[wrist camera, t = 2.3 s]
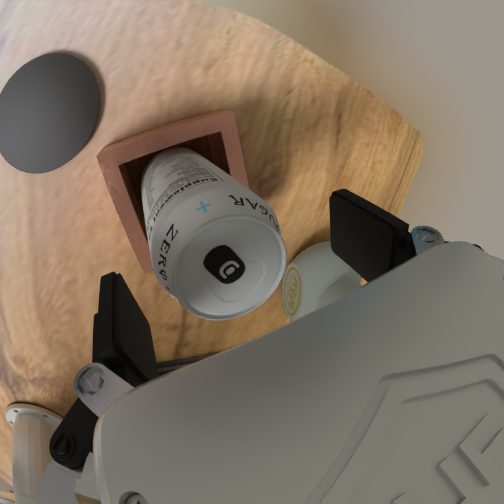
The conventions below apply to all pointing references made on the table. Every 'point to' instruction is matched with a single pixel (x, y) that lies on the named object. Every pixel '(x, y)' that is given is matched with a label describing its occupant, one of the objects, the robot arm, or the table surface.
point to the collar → (115, 155)
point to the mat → (47, 112)
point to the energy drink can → (209, 236)
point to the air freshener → (316, 280)
